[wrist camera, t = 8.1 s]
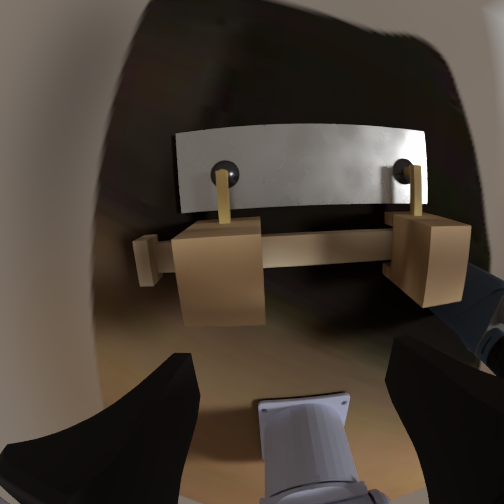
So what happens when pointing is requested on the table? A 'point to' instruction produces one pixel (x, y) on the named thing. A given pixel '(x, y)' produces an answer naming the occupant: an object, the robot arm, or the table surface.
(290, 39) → the table surface
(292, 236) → the rail
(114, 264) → the table surface
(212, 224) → the brown block with peg
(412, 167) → the fixed leg
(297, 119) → the table surface
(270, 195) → the bolt plate
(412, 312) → the table surface
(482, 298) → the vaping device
